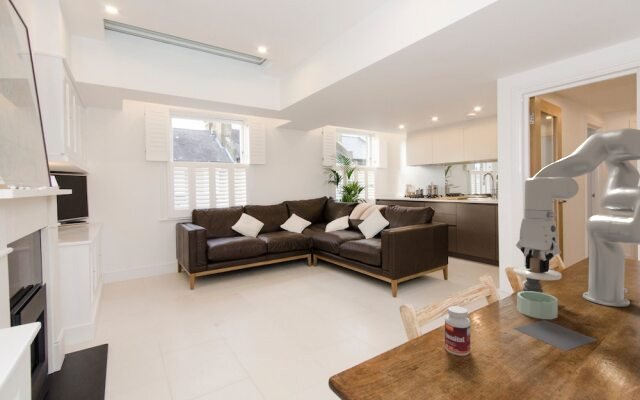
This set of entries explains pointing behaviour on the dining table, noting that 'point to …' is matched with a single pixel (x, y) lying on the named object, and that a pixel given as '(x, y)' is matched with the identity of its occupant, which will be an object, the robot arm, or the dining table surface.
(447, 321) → the pill bottle
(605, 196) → the robot arm
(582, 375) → the dining table surface
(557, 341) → the mat
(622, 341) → the dining table surface
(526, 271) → the lid
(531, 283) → the candle holder
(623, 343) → the dining table surface
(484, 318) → the dining table surface
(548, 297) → the bowl
